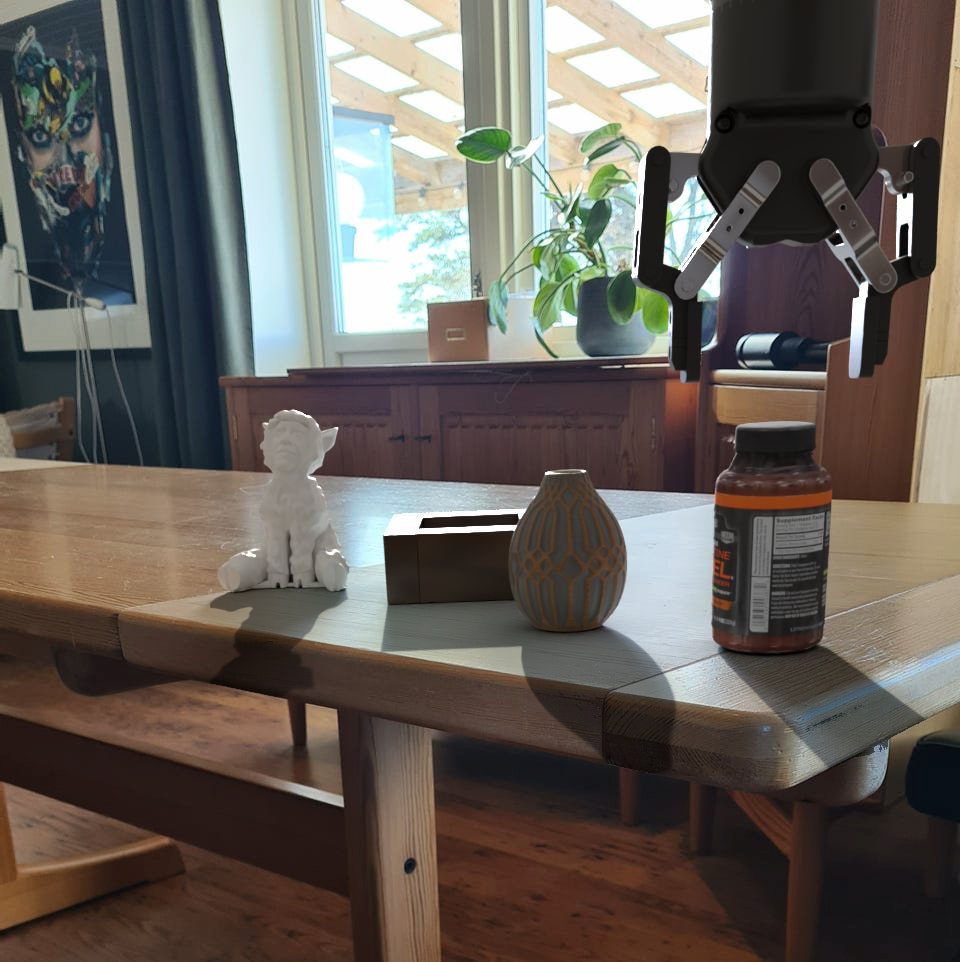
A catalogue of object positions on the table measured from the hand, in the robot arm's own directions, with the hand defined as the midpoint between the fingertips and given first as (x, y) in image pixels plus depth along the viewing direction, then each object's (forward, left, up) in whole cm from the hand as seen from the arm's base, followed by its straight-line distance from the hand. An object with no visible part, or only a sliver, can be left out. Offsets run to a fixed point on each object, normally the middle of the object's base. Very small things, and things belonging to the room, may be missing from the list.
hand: (775, 380), depth 64 cm
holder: (+16, -22, -13) cm, 30 cm away
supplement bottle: (0, 0, -14) cm, 14 cm away
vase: (+10, -7, -14) cm, 18 cm away
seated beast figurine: (+29, -27, -14) cm, 42 cm away
